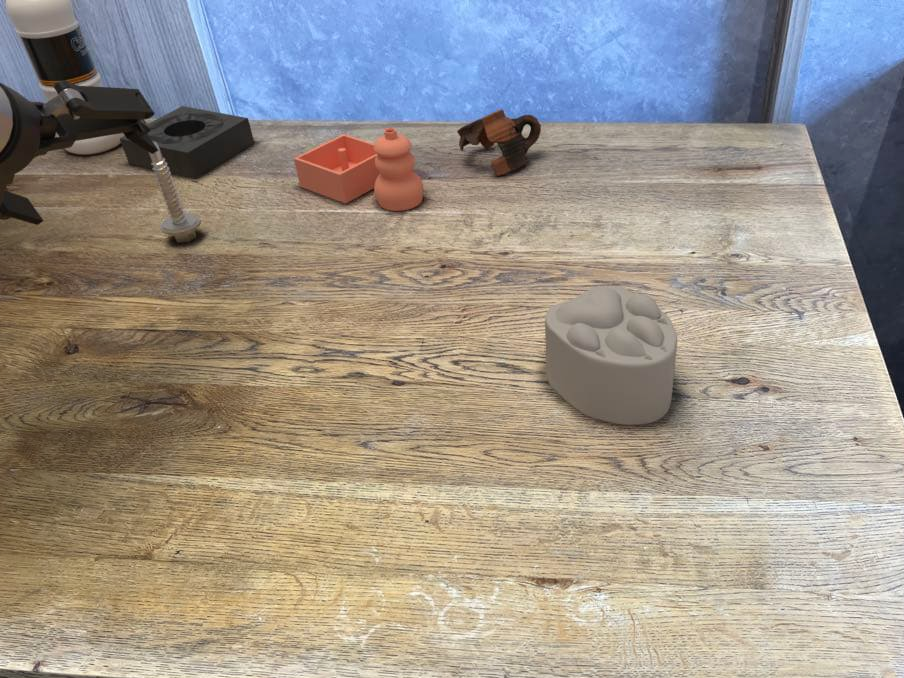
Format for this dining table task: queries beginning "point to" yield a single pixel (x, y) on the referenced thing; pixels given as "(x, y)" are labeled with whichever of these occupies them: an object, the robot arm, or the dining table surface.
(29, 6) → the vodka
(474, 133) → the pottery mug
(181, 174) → the hole plate
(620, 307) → the lumpy-topped squat cylinder
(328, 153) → the pottery
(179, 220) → the screw
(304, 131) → the dining table surface
